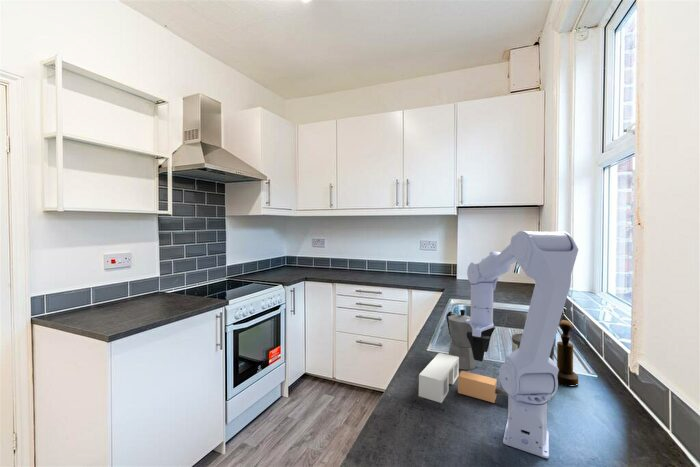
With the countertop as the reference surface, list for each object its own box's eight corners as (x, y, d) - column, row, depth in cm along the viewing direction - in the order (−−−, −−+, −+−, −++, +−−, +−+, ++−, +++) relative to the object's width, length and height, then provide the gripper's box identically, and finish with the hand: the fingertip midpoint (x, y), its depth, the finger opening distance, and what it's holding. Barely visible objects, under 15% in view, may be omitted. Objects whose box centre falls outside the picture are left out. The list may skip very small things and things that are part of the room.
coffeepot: (487, 371, 98) (488, 314, 98) (461, 374, 95) (462, 315, 95) (458, 352, 113) (459, 302, 113) (434, 355, 110) (435, 304, 110)
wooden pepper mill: (554, 374, 97) (555, 316, 96) (580, 381, 92) (581, 320, 92) (548, 381, 92) (550, 320, 92) (575, 389, 87) (577, 325, 87)
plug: (512, 408, 77) (512, 389, 77) (457, 392, 84) (458, 376, 84) (513, 400, 80) (513, 383, 80) (461, 386, 87) (461, 370, 87)
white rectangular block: (441, 403, 79) (442, 380, 79) (418, 396, 83) (419, 374, 83) (458, 375, 95) (459, 357, 94) (438, 370, 98) (439, 352, 98)
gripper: (471, 299, 95) (471, 344, 95) (460, 309, 82) (459, 361, 83) (497, 303, 91) (496, 349, 91) (489, 313, 79) (488, 367, 79)
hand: (480, 355), depth 87 cm, fingers open, 7 cm apart
